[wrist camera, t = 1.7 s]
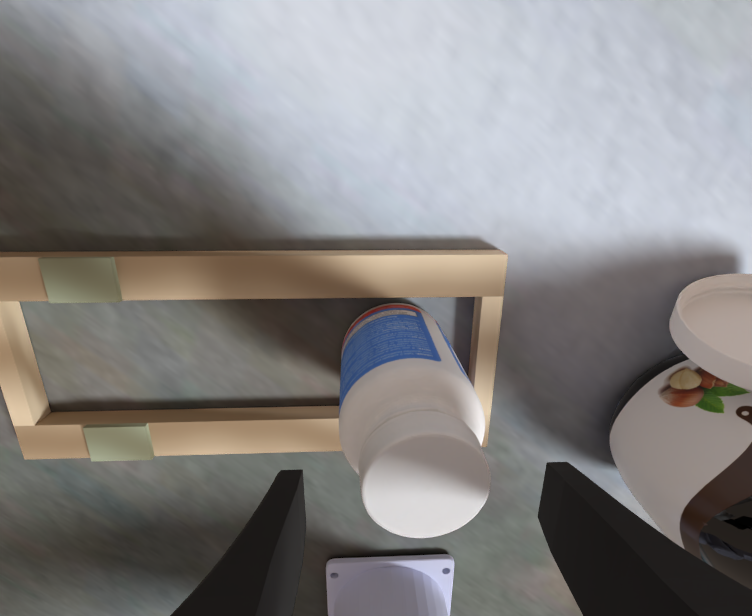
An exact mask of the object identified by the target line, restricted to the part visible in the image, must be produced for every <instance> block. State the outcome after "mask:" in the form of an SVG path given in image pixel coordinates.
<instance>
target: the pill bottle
mask: <svg viewBox="0 0 752 616" xmlns="http://www.w3.org/2000/svg"><path fill="white" fill-rule="evenodd" d="M484 433H485V416H484V411H483V408H482V405H481V402H480V400H479V398H478V396H477V394H476V391H475V389H474V387H473V385H472V384H471V382H470V380H469V378H468V376H467V375H466V373H465V371H464V369H463V367H462V365H461V363H460V361H459V360H458V358H457V356H456V354H455V352H454V350H453V349H452V347H451V345H450V343H449V341H448V339H447V337H446V335H445V334H444V332H443V330H442V329H441V327H440V326H439V324H438V323H437V322H436V321H435V319H434V318H433V317H432V316H430V315H429V314H428V313H427V312H425V311H424V310H422V309H420V308H418V307H416V306H413V305H410V304H405V303H387V304H382V305H379V306H376V307H374V308H371V309H369V310H368V311H366V312H364V313H363V314H362V315H360V316H359V317H358V318H357V319H356V320H355V321H354V322H353V323H352V325H351V326H350V328H349V329H348V331H347V333H346V335H345V338H344V341H343V345H342V352H341V379H340V404H339V438H340V443H341V447H342V450H343V452H344V455H345V457H346V458H347V460H348V462H349V463H350V465H351V466H352V467H353V469H354V470H355V471H356V472H357V473H358V474H359V477H360V487H361V496H362V500H363V504H364V506H365V508H366V510H367V512H368V514H369V515H370V517H371V518H372V519H373V520H374V521H375V522H376V523H377V524H379V525H380V526H381V527H383V528H384V529H386V530H388V531H390V532H391V533H395V534H398V535H401V536H405V537H412V538H428V537H435V536H440V535H443V534H446V533H449V532H452V531H454V530H456V529H458V528H460V527H462V526H463V525H465V524H466V523H468V522H469V521H470V520H471V519H472V518H473V517H474V516H475V515H476V514H477V513H478V512H479V511H480V509H481V508H482V507H483V505H484V504H485V502H486V500H487V497H488V495H489V491H490V484H491V476H490V470H489V466H488V463H487V461H486V458H485V455H484V453H483V450H482V448H481V445H482V442H483V438H484Z"/></svg>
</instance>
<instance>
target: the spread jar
mask: <svg viewBox="0 0 752 616" xmlns="http://www.w3.org/2000/svg"><path fill="white" fill-rule="evenodd" d="M669 330H670V333H671V335H672V338H673V340H674V342H675V343H676V345H677V346H678V348H679V349H680V350H681V351H682V352H683V353H684V354H682V355H679V356H676V357H673V358H670V359H668V360H666V361H664V362H661V363H660V364H658V365H656V366H654V367H653V368H651V369H650V370H648V371H647V372H646V373H644V374H643V375H642V376H641V377H639V378H638V379H637V380H636V381H635V382H634V383H633V384H632V385H631V387H630V388H629V389H628V390H627V392H626V393H625V394H624V396H623V397H622V399H621V400H620V402H619V404H618V405H617V407H616V409H615V411H614V414H613V417H612V420H611V424H610V428H609V440H610V449H611V453H612V456H613V459H614V462H615V464H616V466H617V468H618V470H619V473H620V475H621V477H622V479H623V480H624V482H625V484H626V485H627V487H628V488H629V490H630V491H631V493H632V494H633V495H634V497H635V498H636V500H637V501H638V502H639V504H640V505H641V506H642V507H643V509H644V510H645V511H646V512H647V514H648V515H649V516H650V517H651V519H652V520H653V521H654V522H655V523H656V525H657V526H658V527H659V528H660V529H661V530H662V532H663V533H664V534H665V535H666V536H667V538H669V539H670V540H672V541H673V542H674V543H676V544H677V545H679V546H680V547H682V548H683V549H685V550H686V551H688V552H689V553H691V554H693V555H694V556H696V557H697V558H699V559H701V560H702V561H704V562H705V563H707V564H709V565H710V566H712V567H713V568H715V569H717V570H718V571H720V572H722V573H723V574H725V575H727V576H728V577H730V578H732V579H733V580H735V581H737V582H739V583H740V584H742V585H744V586H746V587H748V588H749V589H751V590H752V274H722V275H715V276H710V277H706V278H703V279H700V280H697V281H695V282H693V283H691V284H690V285H688V286H686V287H685V288H684V289H683V290H682V291H681V292H680V294H679V296H678V299H677V301H676V304H675V307H674V309H673V312H672V315H671V318H670V321H669Z"/></svg>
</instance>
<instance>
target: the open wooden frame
mask: <svg viewBox="0 0 752 616" xmlns="http://www.w3.org/2000/svg"><path fill="white" fill-rule="evenodd" d="M507 260H508V254H506V253H504V252H503V251H501V250H289V251H72V252H0V386H1V389H2V392H3V395H4V398H5V401H6V404H7V407H8V410H9V413H10V416H11V419H12V423H13V426H14V429H15V432H16V435H17V438H18V441H19V444H20V447H21V450H22V453H23V456H24V459H57V458H91V461H124V460H152V459H153V457H154V456H168V455H205V454H241V453H278V452H315V451H343V450H342V447H341V443H340V438H339V406H302V407H257V408H211V409H166V410H120V411H75V412H51V410H50V406H49V403H48V399H47V396H46V393H45V389H44V386H43V382H42V379H41V375H40V372H39V368H38V365H37V362H36V358H35V355H34V351H33V348H32V344H31V341H30V337H29V334H28V331H27V327H26V324H25V320H24V317H23V313H22V310H21V306H20V303H19V301H49V303H103V302H121V301H122V300H198V299H298V298H398V297H475V302H474V314H473V325H472V337H471V348H470V360H469V371H468V378H469V380H470V382H471V384H472V385H473V387H474V389H475V391H476V394H477V396H478V398H479V400H480V402H481V405H482V408H483V411H484V416H485V433H484V438H483V442H482V445H481V447H487V441H488V432H489V423H490V414H491V405H492V396H493V387H494V378H495V369H496V360H497V351H498V342H499V333H500V323H501V314H502V305H503V296H504V287H505V278H506V269H507Z"/></svg>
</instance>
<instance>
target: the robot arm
mask: <svg viewBox="0 0 752 616" xmlns="http://www.w3.org/2000/svg"><path fill="white" fill-rule="evenodd" d="M538 519H539V522H540V524H541V527H542V530H543V533H544V535H545V538H546V541H547V543H548V546H549V548H550V551H551V553H552V555H553V557H554V559H555V561H556V563H557V565H558V567H559V569H560V571H561V573H562V575H563V577H564V579H565V581H566V583H567V585H568V587H569V589H570V591H571V593H572V595H573V596H574V598H575V600H576V602H577V604H578V606H579V608H580V610H581V612H582V614H583V616H752V590H751V589H749V588H748V587H746V586H744V585H742V584H740V583H739V582H737V581H735V580H733V579H732V578H730V577H728V576H727V575H725V574H723V573H722V572H720V571H718V570H717V569H715V568H713V567H712V566H710V565H709V564H707V563H705V562H704V561H702V560H701V559H699V558H697V557H696V556H694V555H693V554H691V553H689V552H688V551H686V550H685V549H683V548H682V547H680V546H679V545H677V544H676V543H674V542H673V541H672V540H670V539H669V538H667V537H666V536H664V535H663V534H662V533H660V532H659V531H657V530H656V529H654V528H653V527H652V526H650V525H649V524H647V523H646V522H645V521H643V520H642V519H641V518H639V517H638V516H637V515H635V514H634V513H633V512H631V511H630V510H629V509H627V508H626V507H625V506H623V505H622V504H621V503H619V502H618V501H617V500H616V499H614V498H613V497H612V496H610V495H609V494H608V493H607V492H605V491H604V490H603V489H602V488H600V487H599V486H598V485H596V484H595V483H594V482H593V481H591V480H590V479H589V478H588V477H586V476H585V475H584V474H582V473H581V472H580V471H579V470H577V469H576V468H575V467H573V466H572V465H571V464H569V463H568V462H549V463H547V465H546V471H545V477H544V483H543V489H542V494H541V500H540V506H539V512H538ZM305 532H306V514H305V499H304V483H303V470H281V471H280V472H279V473H278V474H277V476H276V478H275V480H274V482H273V483H272V485H271V487H270V489H269V490H268V492H267V494H266V495H265V497H264V498H263V500H262V502H261V503H260V505H259V506H258V508H257V509H256V511H255V512H254V514H253V515H252V517H251V518H250V520H249V521H248V523H247V524H246V526H245V527H244V529H243V530H242V531H241V533H240V534H239V536H238V537H237V538H236V540H235V541H234V542H233V544H232V545H231V546H230V547H229V549H228V550H227V551H226V553H225V554H224V555H223V557H222V558H221V559H220V561H219V562H218V563H217V564H216V565H215V567H214V568H213V569H212V570H211V572H210V573H209V574H208V575H207V576H206V577H205V579H204V580H203V581H202V582H201V583H200V584H199V585H198V587H197V588H196V589H195V590H194V591H193V592H192V593H191V594H190V595H189V596H188V598H187V599H186V600H185V601H184V602H183V603H182V604H181V605H180V606H179V607H178V608H177V609H176V610H175V611H174V612H173V613H172V614H171V615H170V616H292V615H293V610H294V604H295V599H296V594H297V589H298V584H299V579H300V574H301V568H302V563H303V554H304V544H305ZM453 574H454V560H453V557H452V556H451V555H449V554H437V555H411V556H386V557H360V558H335V559H330V560H329V561H328V562H327V564H326V582H327V603H328V616H450V608H451V597H452V585H453Z"/></svg>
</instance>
